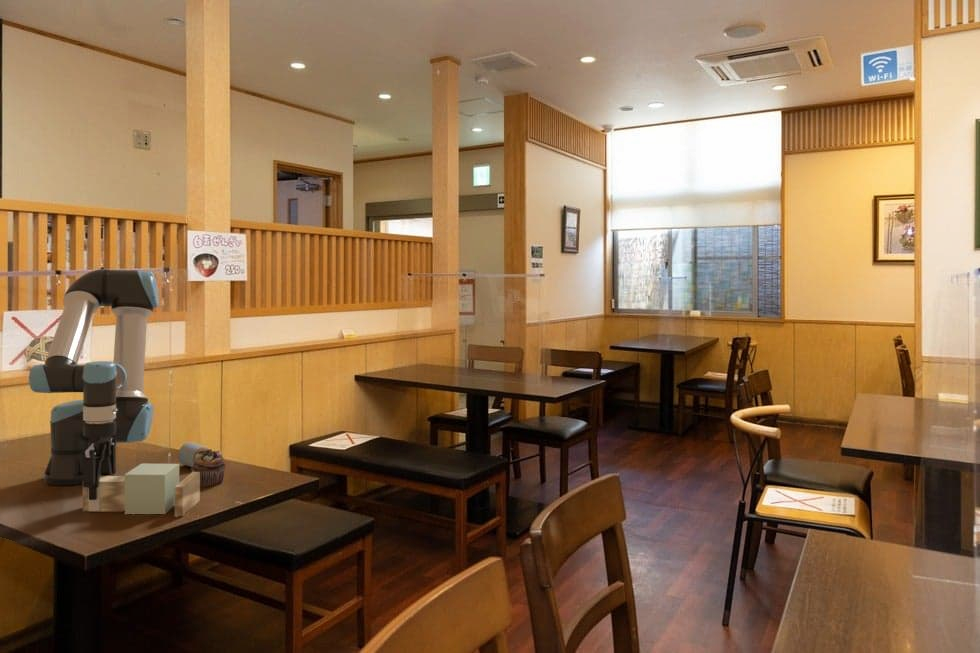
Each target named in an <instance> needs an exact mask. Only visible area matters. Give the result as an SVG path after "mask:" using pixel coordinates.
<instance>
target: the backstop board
mask: <svg viewBox="0 0 980 653" xmlns="http://www.w3.org/2000/svg"><path fill="white" fill-rule="evenodd" d="M200 500H201V486H200V472H192V471H191V472H190V473H189V474H188V475H187V476H186V477H184V479H183V480H181V481H179V484H178V485H177V486H175V506H174V517H175V516H183V515H184V514H185V513H186V512H187V511H188V510H189V509H190V508H191V509H193V507H195V506H196V504H198V503H199V502H200ZM191 509H190V510H191ZM190 510H189V511H190ZM189 511H188V512H189ZM188 512H187V513H188ZM187 513H186V514H187ZM186 514H185V515H186ZM185 515H184V516H185ZM184 516H183V517H184Z"/></svg>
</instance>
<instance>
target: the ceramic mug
mask: <svg viewBox="0 0 980 653" xmlns="http://www.w3.org/2000/svg"><path fill="white" fill-rule="evenodd" d="M209 449H210V448H208V447H207V446H205V445H201V444H200V443H196V442H193V441H188V442H187V441H186V442H185V443H184V444H182V445H181V447H179V450H178V452H177V459H178V462H179V464H181V465H183V466H187V467H189V468H192V467H193V465H194V464H195V460H196V459H197V458H196V455H197V454H198V453H199V452H201V451H207V450H209ZM204 453H206V452H204Z"/></svg>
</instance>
